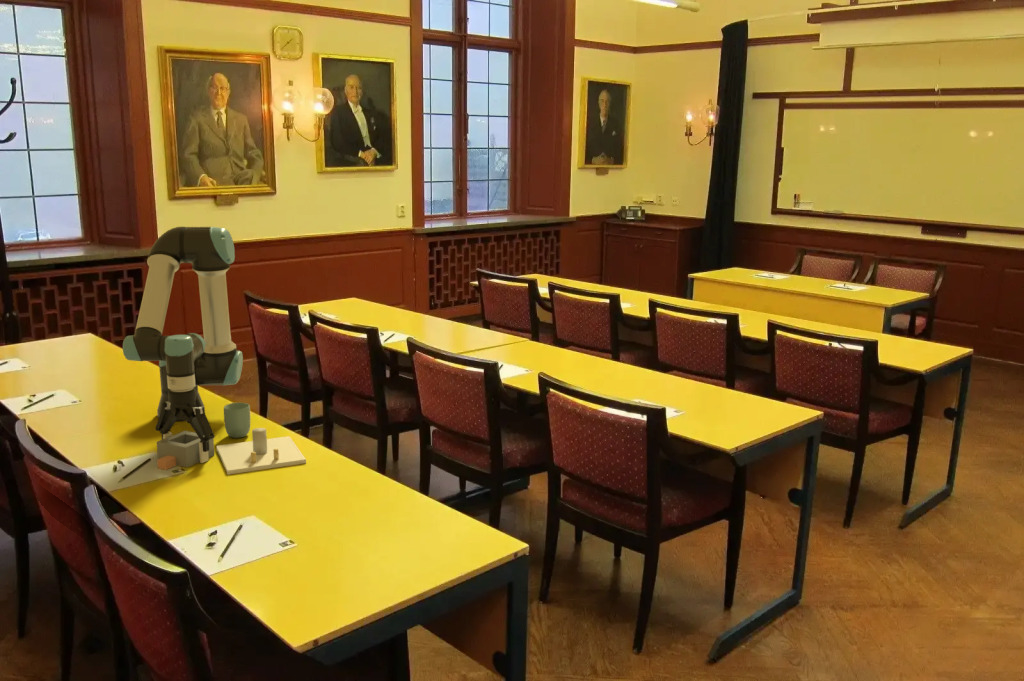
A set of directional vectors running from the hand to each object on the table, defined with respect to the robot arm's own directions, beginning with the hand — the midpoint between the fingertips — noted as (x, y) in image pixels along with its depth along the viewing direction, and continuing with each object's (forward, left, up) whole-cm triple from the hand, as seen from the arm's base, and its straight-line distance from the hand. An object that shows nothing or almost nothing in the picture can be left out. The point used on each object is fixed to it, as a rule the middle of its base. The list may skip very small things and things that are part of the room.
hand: (186, 458), depth 247 cm
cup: (-14, +17, 0) cm, 22 cm away
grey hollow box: (+1, -2, 0) cm, 2 cm away
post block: (+7, +20, 0) cm, 21 cm away
